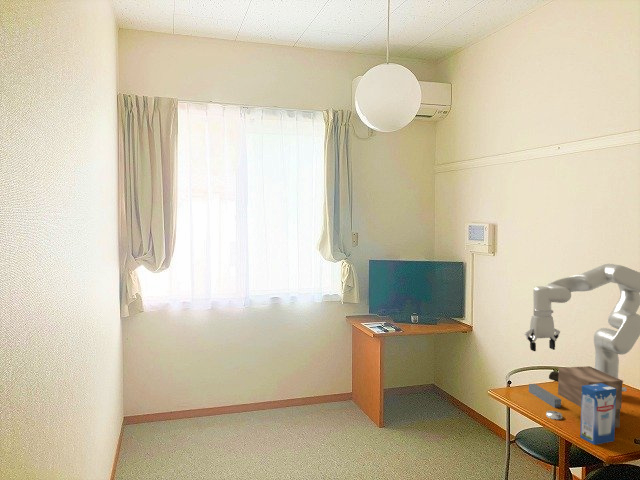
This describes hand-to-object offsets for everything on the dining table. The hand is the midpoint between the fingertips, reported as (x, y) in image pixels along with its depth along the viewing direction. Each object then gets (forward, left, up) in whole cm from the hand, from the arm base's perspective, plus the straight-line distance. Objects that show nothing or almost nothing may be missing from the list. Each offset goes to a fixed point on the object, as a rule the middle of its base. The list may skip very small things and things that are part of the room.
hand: (542, 349), depth 223 cm
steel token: (+9, +22, -22) cm, 32 cm away
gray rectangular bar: (+1, +3, -22) cm, 23 cm away
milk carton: (+6, +43, -22) cm, 49 cm away
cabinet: (-4, +26, -22) cm, 34 cm away
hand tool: (-26, -15, -23) cm, 38 cm away
